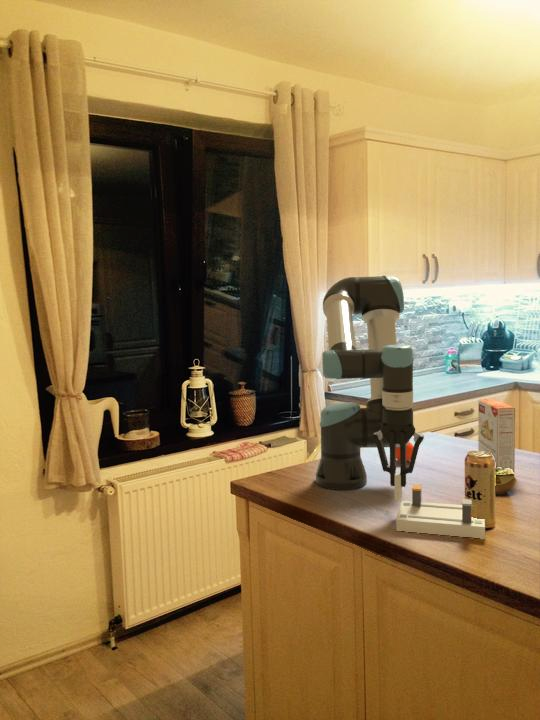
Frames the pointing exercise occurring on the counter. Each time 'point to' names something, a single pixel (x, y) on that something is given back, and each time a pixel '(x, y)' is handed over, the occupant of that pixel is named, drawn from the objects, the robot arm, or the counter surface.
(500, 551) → the counter surface
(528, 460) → the counter surface
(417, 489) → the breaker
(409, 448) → the clementine
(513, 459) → the cracker box
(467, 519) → the on breaker
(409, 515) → the white flat slotted block
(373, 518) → the counter surface
